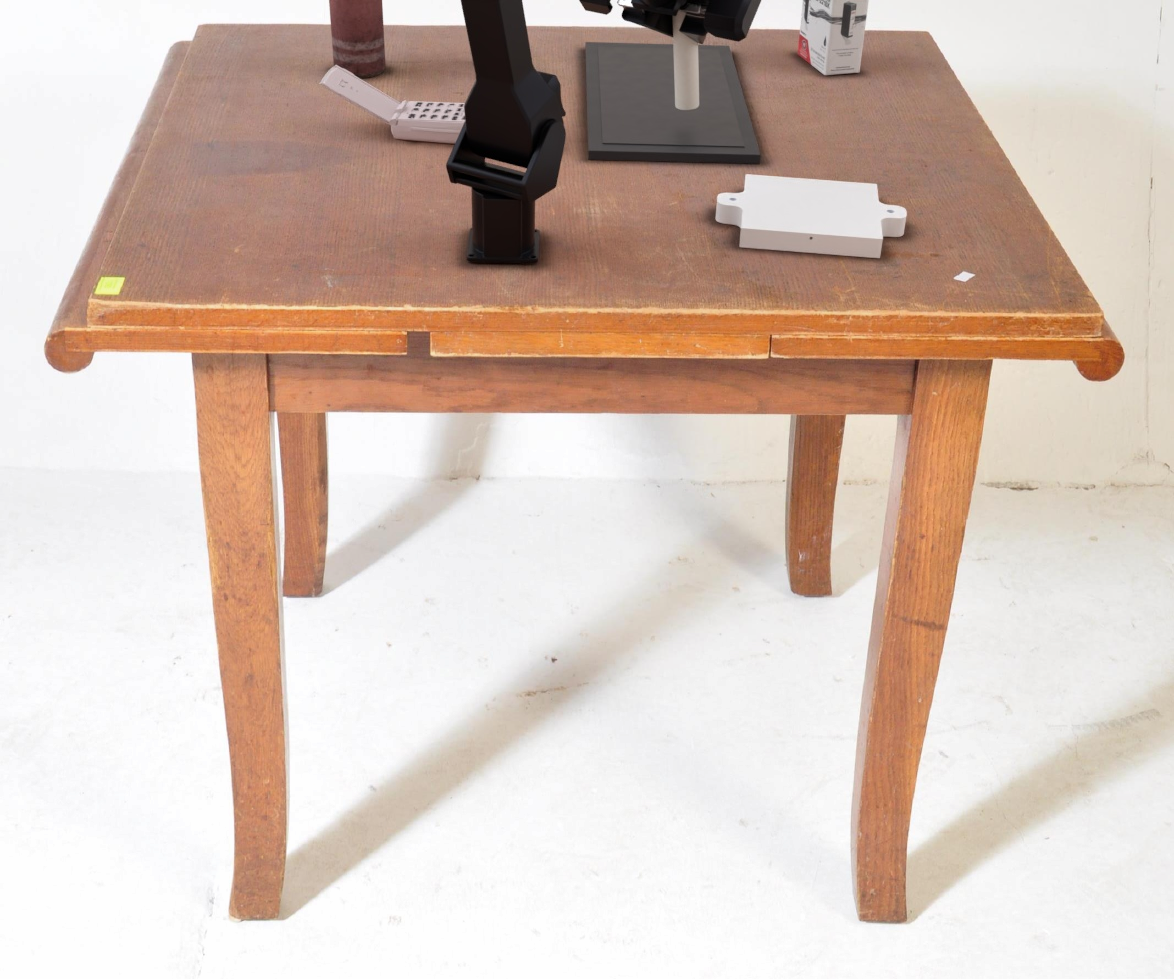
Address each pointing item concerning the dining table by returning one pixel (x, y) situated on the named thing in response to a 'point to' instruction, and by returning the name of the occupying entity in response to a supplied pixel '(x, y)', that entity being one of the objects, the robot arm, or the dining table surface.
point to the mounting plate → (811, 216)
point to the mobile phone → (399, 109)
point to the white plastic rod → (685, 67)
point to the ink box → (833, 34)
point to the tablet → (664, 107)
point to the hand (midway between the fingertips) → (691, 37)
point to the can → (358, 36)
